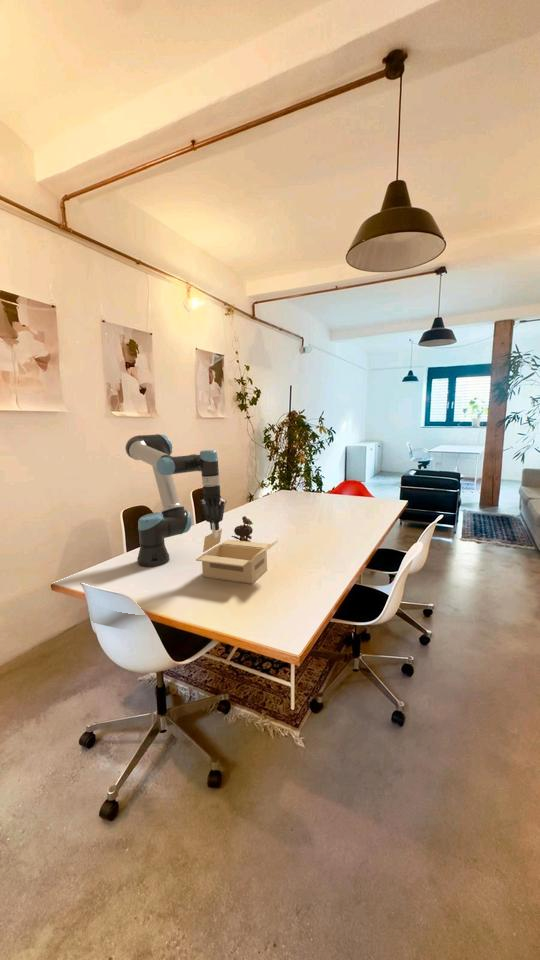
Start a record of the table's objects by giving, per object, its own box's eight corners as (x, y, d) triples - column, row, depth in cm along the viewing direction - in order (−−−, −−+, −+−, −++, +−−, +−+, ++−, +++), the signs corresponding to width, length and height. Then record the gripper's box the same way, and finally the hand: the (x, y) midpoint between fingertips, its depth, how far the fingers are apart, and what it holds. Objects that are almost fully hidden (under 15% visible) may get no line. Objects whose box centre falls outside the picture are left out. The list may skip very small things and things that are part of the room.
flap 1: (202, 551, 166) (204, 537, 165) (218, 542, 179) (220, 528, 178) (204, 552, 166) (206, 537, 165) (219, 542, 179) (222, 528, 177)
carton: (195, 582, 161) (193, 559, 160) (227, 559, 187) (226, 539, 186) (246, 590, 152) (245, 565, 151) (272, 565, 178) (271, 544, 177)
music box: (262, 553, 196) (259, 516, 191) (248, 561, 187) (244, 522, 183) (240, 547, 205) (237, 512, 201) (226, 555, 197) (222, 518, 192)
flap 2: (252, 557, 157) (265, 550, 155) (265, 547, 170) (277, 540, 167) (252, 558, 157) (265, 551, 155) (266, 548, 170) (278, 541, 167)
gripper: (194, 486, 167) (198, 538, 170) (219, 486, 162) (224, 540, 165) (203, 483, 174) (207, 533, 177) (228, 483, 169) (232, 535, 172)
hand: (215, 536), depth 171 cm, fingers closed
